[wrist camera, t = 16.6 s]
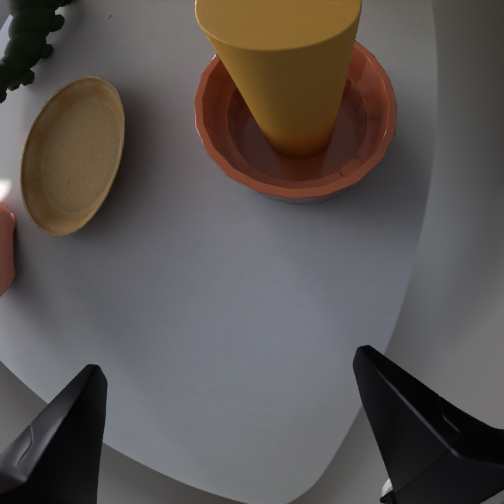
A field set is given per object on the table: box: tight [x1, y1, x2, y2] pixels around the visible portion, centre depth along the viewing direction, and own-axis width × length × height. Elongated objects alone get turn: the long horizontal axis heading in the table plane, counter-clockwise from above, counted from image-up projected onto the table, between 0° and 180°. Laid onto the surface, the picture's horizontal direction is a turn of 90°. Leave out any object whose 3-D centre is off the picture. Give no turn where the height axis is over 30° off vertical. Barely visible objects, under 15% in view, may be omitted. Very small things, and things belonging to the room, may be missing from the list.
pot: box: [194, 40, 397, 205], centre depth 16 cm, size 11×11×6 cm
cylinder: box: [195, 0, 362, 159], centre depth 12 cm, size 5×5×13 cm
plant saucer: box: [20, 76, 125, 237], centre depth 21 cm, size 15×15×3 cm
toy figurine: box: [0, 0, 73, 103], centre depth 14 cm, size 9×19×25 cm
